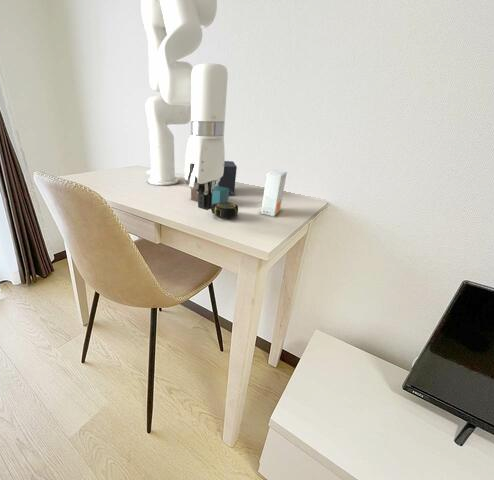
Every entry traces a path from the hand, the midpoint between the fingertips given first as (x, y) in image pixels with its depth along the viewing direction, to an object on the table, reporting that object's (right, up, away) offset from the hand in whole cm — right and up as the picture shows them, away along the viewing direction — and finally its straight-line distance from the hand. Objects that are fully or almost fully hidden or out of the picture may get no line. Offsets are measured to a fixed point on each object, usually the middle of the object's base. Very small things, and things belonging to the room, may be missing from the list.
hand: (204, 208), depth 66 cm
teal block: (+5, +4, +19) cm, 20 cm away
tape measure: (+6, -2, +9) cm, 11 cm away
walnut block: (0, +6, +23) cm, 23 cm away
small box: (+9, +10, +32) cm, 34 cm away
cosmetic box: (+21, 0, +13) cm, 24 cm away
